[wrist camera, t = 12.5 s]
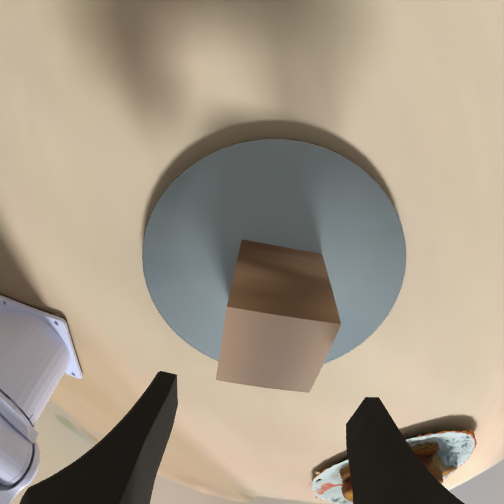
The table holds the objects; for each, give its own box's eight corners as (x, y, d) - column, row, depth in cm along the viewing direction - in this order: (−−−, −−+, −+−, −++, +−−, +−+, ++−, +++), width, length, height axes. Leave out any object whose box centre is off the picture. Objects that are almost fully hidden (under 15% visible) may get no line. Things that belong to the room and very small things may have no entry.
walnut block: (231, 304, 19) (216, 379, 13) (241, 239, 17) (226, 306, 11) (302, 316, 19) (309, 392, 14) (322, 253, 17) (341, 324, 12)
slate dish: (151, 341, 22) (147, 349, 21) (154, 120, 15) (147, 121, 14) (351, 371, 22) (353, 380, 22) (433, 176, 15) (441, 180, 14)
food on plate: (330, 500, 41) (332, 529, 35) (284, 458, 31) (283, 503, 26) (462, 458, 35) (470, 486, 29) (482, 393, 25) (501, 435, 19)
